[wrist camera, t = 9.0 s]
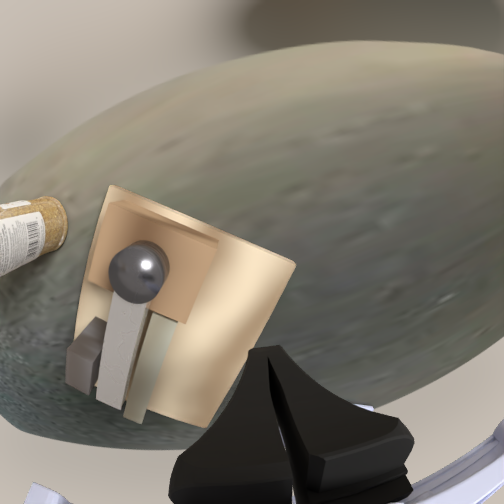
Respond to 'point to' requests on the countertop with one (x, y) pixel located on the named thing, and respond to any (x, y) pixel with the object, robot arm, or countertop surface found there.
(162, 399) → the wooden base plank
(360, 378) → the countertop surface
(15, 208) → the sprinkles bottle
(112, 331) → the bar
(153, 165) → the countertop surface
